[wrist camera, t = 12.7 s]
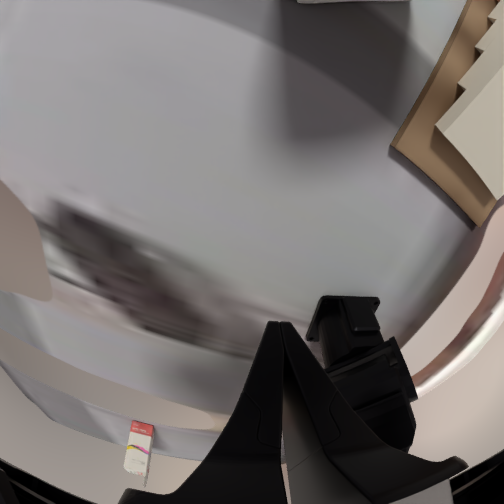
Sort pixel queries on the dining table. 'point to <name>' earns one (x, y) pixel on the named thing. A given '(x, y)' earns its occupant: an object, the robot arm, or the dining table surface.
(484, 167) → the domino
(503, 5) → the domino
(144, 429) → the ink cartridge box
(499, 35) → the domino
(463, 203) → the walnut board
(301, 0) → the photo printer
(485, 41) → the domino
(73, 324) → the dining table surface
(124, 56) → the dining table surface
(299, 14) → the dining table surface
